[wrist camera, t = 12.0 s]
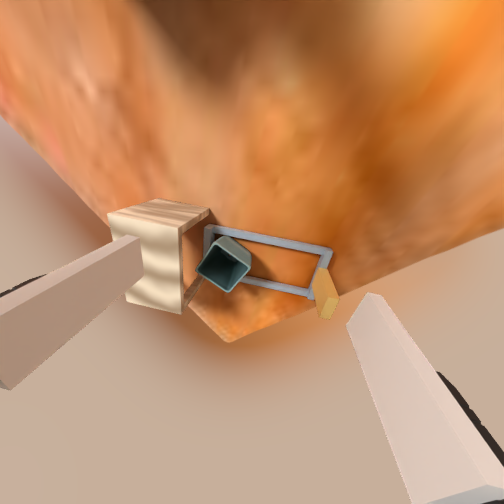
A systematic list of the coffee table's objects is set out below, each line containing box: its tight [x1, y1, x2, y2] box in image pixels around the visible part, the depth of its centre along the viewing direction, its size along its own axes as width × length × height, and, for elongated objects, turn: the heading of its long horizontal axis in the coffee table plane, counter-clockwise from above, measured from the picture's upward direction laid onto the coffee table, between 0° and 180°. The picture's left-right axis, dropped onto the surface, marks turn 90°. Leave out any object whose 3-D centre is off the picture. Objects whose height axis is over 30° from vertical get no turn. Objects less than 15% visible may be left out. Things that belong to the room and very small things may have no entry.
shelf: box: [107, 198, 209, 314], centre depth 39 cm, size 19×12×14 cm, turn 171°
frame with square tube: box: [203, 224, 340, 320], centre depth 39 cm, size 14×28×12 cm, turn 81°
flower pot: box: [195, 236, 252, 293], centre depth 41 cm, size 9×9×9 cm
